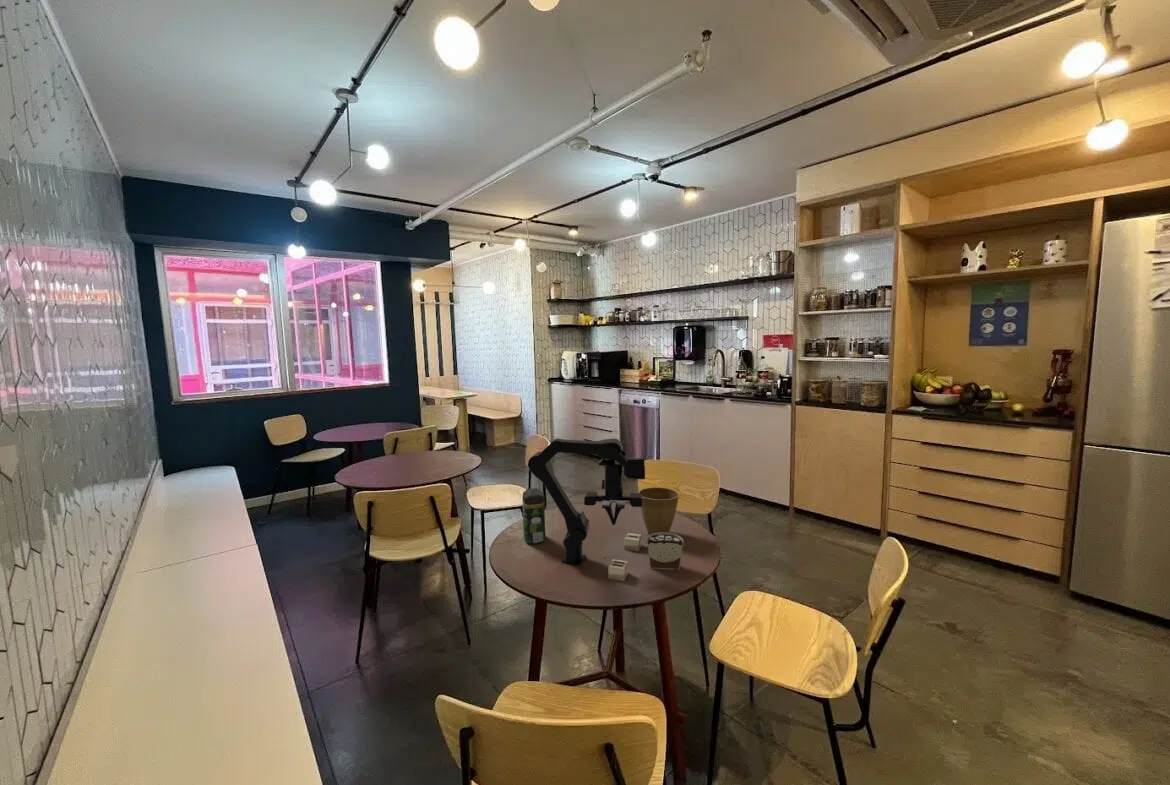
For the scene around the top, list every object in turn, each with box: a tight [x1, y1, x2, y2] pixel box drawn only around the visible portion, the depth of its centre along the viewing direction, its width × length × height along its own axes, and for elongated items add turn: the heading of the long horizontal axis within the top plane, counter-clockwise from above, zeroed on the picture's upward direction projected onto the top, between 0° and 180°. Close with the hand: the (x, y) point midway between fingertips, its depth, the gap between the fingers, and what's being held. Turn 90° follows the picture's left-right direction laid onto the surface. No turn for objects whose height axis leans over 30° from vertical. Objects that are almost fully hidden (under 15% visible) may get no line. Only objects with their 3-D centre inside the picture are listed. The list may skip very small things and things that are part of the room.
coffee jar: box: [522, 487, 546, 545], centre depth 173 cm, size 10×8×19 cm
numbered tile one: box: [623, 532, 642, 552], centre depth 167 cm, size 5×5×4 cm
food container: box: [645, 532, 686, 571], centre depth 153 cm, size 12×6×10 cm, turn 85°
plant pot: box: [638, 486, 680, 536], centre depth 177 cm, size 15×15×16 cm
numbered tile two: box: [607, 559, 629, 582], centre depth 147 cm, size 5×5×4 cm
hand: (613, 524), depth 154 cm, fingers closed
